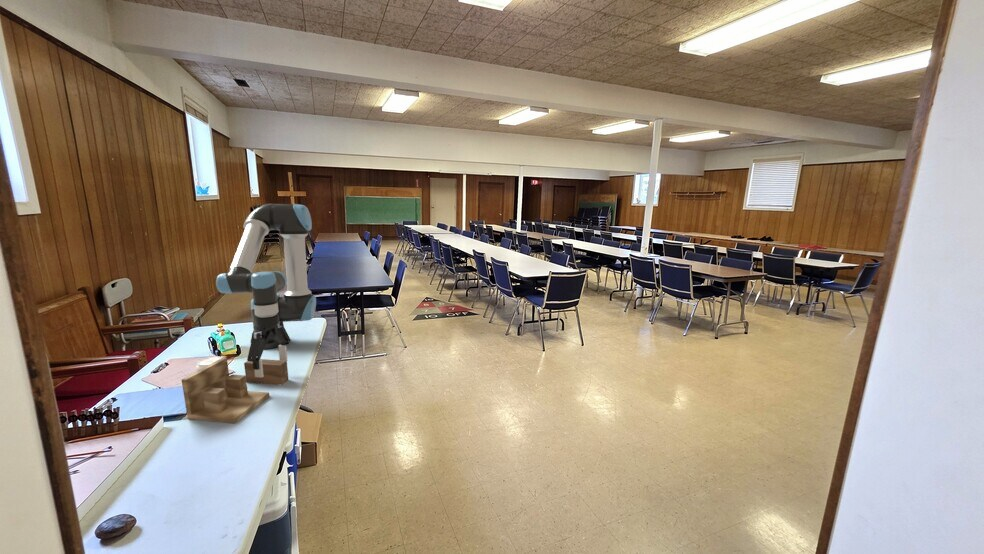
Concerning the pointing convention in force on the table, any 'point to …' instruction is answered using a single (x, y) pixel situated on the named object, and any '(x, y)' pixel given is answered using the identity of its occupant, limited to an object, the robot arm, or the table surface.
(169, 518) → the table surface
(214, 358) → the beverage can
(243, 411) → the wooden step bracket
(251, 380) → the rail
